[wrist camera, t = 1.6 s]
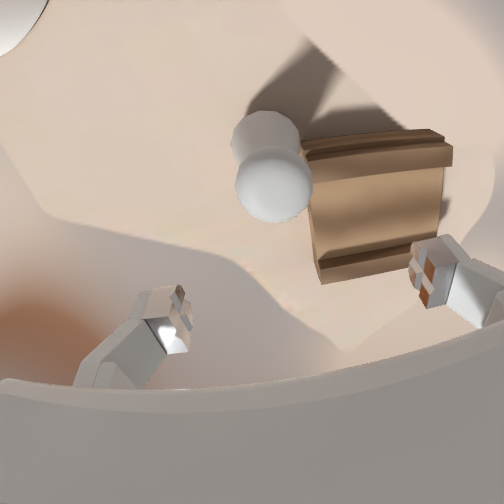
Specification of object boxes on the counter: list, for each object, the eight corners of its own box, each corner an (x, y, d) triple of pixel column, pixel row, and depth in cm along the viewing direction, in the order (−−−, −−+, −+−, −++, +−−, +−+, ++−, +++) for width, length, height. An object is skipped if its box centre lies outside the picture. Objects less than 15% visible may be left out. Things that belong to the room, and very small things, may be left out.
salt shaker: (298, 108, 25) (338, 144, 14) (294, 167, 28) (324, 241, 17) (232, 106, 25) (219, 139, 14) (232, 165, 28) (221, 240, 17)
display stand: (298, 141, 26) (307, 155, 23) (428, 128, 25) (453, 141, 21) (314, 262, 34) (321, 288, 31) (422, 241, 33) (439, 263, 29)
